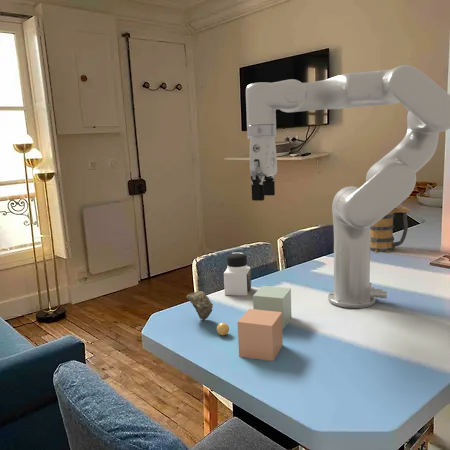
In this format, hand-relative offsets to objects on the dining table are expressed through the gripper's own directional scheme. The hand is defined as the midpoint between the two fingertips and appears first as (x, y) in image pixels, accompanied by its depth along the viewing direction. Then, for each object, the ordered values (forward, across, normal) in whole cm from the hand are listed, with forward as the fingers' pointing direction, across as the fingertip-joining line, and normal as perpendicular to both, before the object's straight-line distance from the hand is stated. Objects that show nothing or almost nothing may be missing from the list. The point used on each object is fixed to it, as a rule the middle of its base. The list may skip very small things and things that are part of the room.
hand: (263, 197), depth 119 cm
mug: (+31, +67, -28) cm, 79 cm away
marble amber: (+30, -22, +5) cm, 38 cm away
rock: (+30, -16, +13) cm, 37 cm away
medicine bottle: (+31, +8, +12) cm, 34 cm away
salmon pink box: (+30, -27, -7) cm, 41 cm away
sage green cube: (+30, -11, -5) cm, 33 cm away
